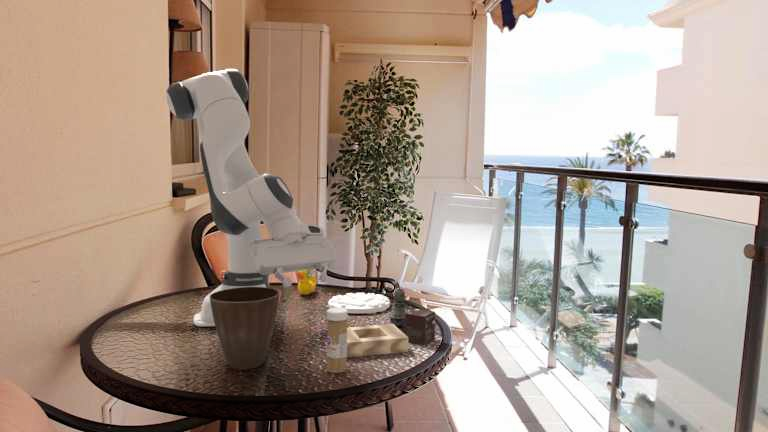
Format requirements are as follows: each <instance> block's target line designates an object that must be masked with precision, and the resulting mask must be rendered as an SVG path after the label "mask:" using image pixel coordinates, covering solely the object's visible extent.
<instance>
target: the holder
mask: <svg viewBox="0 0 768 432" xmlns="http://www.w3.org/2000/svg"><path fill="white" fill-rule="evenodd" d="M408 352H409V341H408V337H407V336H406V335H405V332H404V331H401V330H399V329H398V328H397V327H396V326H395V325H394V324H392V323H389V324H386V323H385V324H373V325H361V326H350V327H349V326H347V358H357V357H365V356H377V355H378V356H379V355H388V354H399V353H408Z"/></svg>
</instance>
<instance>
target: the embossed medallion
mask: <svg viewBox="0 0 768 432" xmlns="http://www.w3.org/2000/svg"><path fill="white" fill-rule="evenodd" d="M327 303H328V309H330V308H345V309H347V311H348V314H367V315H372V314H375V315H376V314H377V312H379V313H382V312H385V311H386V310H387V309H389V308H390V299H389V297H387V296H385V295H384V294H380V293H379V294H378V293H377V294H375V292H372V293H371V292H368V293H366V292H364V291H363V292H356V293H354V292H347V293H345V294H344V295H342V294H337V295H335V296H332V297H331V298H330V299H329V300H328V302H327Z"/></svg>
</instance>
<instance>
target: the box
mask: <svg viewBox="0 0 768 432" xmlns="http://www.w3.org/2000/svg"><path fill="white" fill-rule="evenodd" d="M404 334H405V335H406V336H407V337H408V343H409V342H410V343H416V344H421V345H427V344H428V343H430V342H432V341H433V340H435V338H436V335H435V334H436V311H432V310H426V309H421V308H414V309H413V310H412V309H411V310H409V311H407V312H405V331H404Z"/></svg>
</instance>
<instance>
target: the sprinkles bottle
mask: <svg viewBox="0 0 768 432" xmlns="http://www.w3.org/2000/svg"><path fill="white" fill-rule="evenodd" d="M348 314H349V313H348V311H347V309H345V308H328V309H326V320H327V321H326V322H327V336H326V367H325V368H326V370H327V372H329V373H331V374H341V373H343V372H346V371H347V370H348V365H347V358H348V357H347V327H348V318H349V316H348Z"/></svg>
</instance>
